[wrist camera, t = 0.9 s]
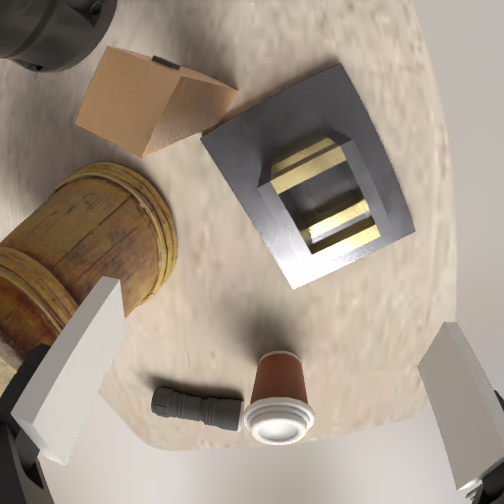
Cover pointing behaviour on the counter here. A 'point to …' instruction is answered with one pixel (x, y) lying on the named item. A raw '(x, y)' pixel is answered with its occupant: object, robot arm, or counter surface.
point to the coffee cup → (279, 400)
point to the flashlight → (198, 408)
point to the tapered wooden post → (150, 101)
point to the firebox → (312, 176)
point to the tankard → (81, 256)
